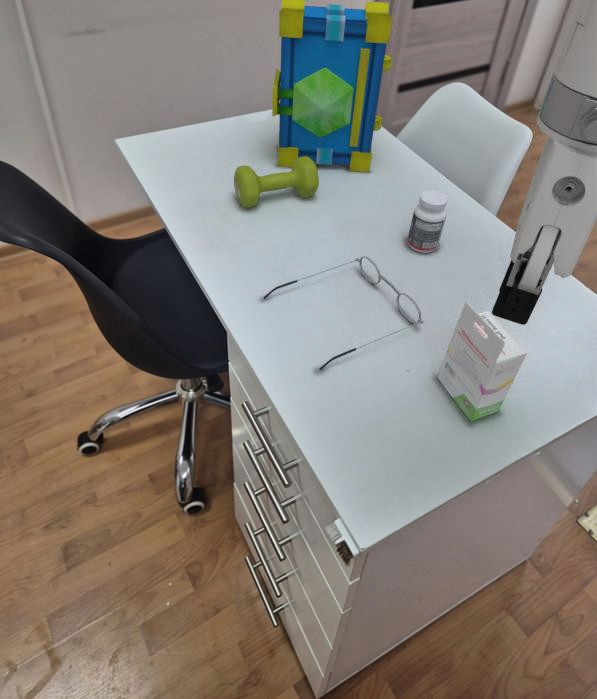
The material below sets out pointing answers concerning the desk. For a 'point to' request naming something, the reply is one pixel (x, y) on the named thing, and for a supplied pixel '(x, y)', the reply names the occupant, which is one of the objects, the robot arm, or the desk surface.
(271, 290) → the eyeglasses
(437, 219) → the pill bottle
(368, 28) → the decorative book
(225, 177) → the desk surface
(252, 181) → the dumbbell
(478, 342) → the ink box
